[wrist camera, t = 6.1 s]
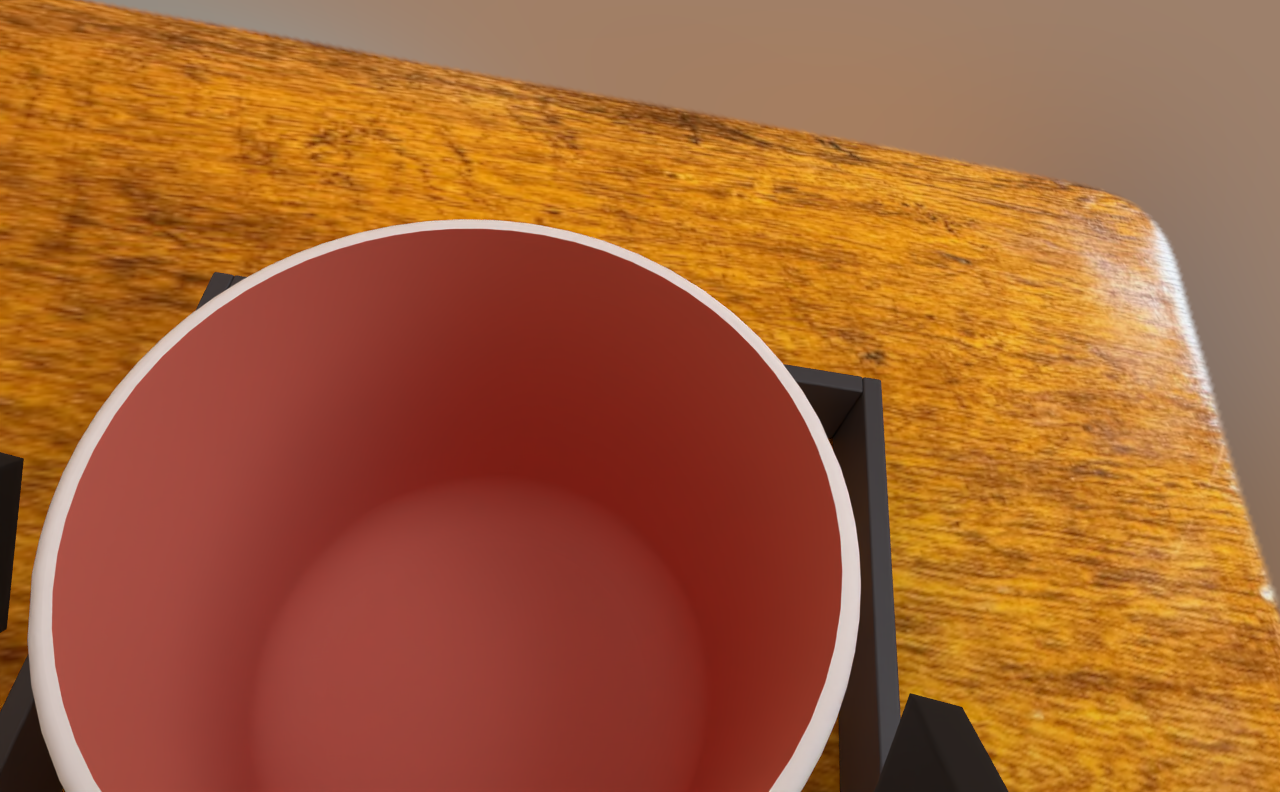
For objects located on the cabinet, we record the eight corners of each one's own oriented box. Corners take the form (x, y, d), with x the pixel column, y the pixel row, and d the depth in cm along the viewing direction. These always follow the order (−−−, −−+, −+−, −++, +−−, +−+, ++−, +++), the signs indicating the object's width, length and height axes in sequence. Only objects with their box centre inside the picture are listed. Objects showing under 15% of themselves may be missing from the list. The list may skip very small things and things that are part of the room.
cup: (781, 844, 18) (1016, 776, 10) (292, 1057, 15) (30, 1220, 7) (624, 448, 23) (691, 168, 14) (223, 555, 20) (14, 285, 11)
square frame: (849, 426, 24) (881, 379, 22) (876, 1256, 15) (936, 1309, 13) (240, 330, 23) (213, 270, 21) (-125, 1152, 14) (-237, 1192, 12)
